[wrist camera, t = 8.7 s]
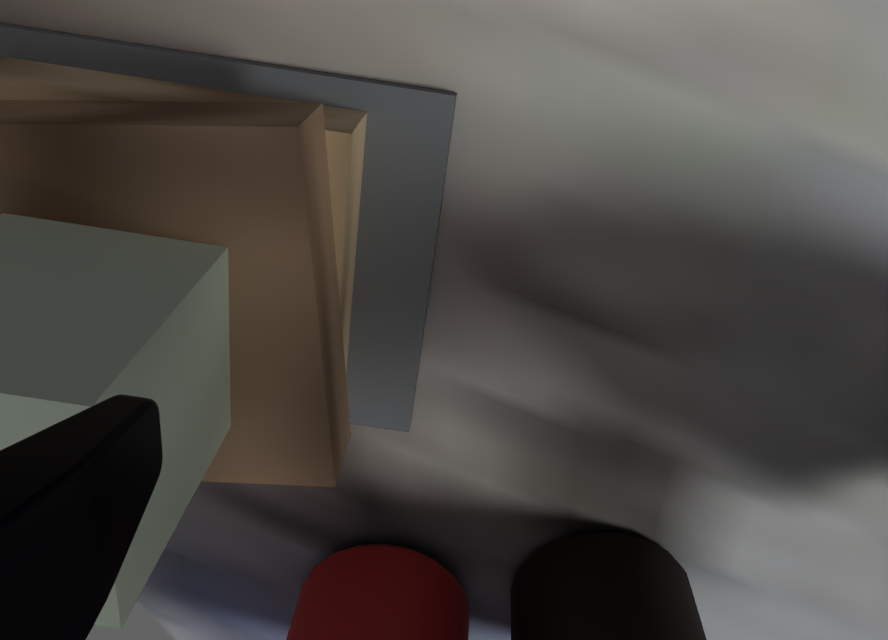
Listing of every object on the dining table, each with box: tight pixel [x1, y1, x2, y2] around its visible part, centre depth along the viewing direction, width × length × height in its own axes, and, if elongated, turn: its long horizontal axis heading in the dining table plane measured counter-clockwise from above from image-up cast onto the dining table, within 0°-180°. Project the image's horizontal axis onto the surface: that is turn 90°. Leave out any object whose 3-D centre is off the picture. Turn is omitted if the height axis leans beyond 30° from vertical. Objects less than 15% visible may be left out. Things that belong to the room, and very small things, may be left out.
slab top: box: [0, 100, 351, 487], centre depth 18 cm, size 10×10×2 cm
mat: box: [0, 23, 457, 432], centre depth 21 cm, size 14×11×1 cm
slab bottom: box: [0, 57, 367, 369], centre depth 20 cm, size 10×10×2 cm
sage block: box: [0, 213, 231, 629], centre depth 14 cm, size 5×5×6 cm
